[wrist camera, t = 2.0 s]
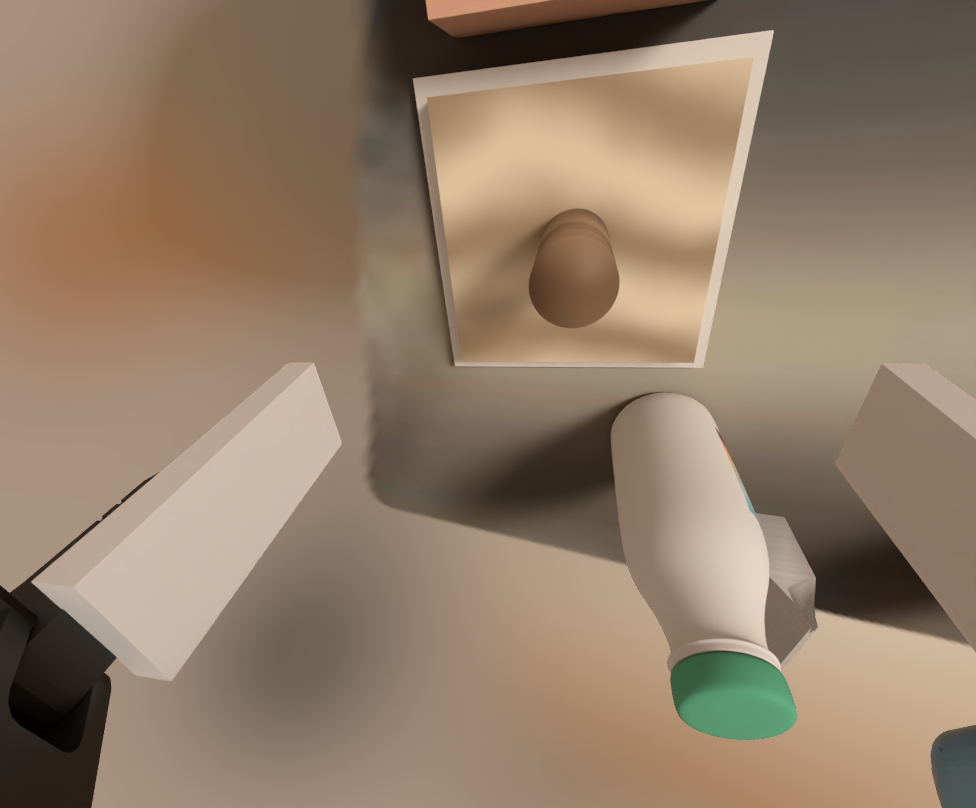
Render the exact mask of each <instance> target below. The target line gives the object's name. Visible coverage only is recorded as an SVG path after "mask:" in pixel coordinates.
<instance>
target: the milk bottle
mask: <svg viewBox="0 0 976 808" xmlns="http://www.w3.org/2000/svg"><path fill="white" fill-rule="evenodd" d="M611 450H612V460H613V470H614V480H615V490H616V499H617V508H618V517H619V526H620V532H621V539H622V545H623V551H624V555H625V559H626V562H627V566H628V568H629V571H630V573H631V576H632V578H633V580H634V582H635V584H636V586H637V588H638V590H639V591H640V593H641V595H642V596H643V598H644V599H645V601H646V602H647V604H648V605H649V607H650V608H651V610H652V611H653V612H654V614H655V616H656V618H657V619H658V621H659V623H660V625H661V627H662V629H663V631H664V633H665V635H666V638H667V640H668V643H669V646H670V650H671V654H670V656H669V658H668V668H669V670H670V672H671V678H670V681H671V689H672V695H673V700H674V705H675V708H676V710H677V713H678V715H679V716H680V718H681V719H682V720H683V721H684V722H685V723H687V724H688V725H689V726H691V727H692V728H694V729H696V730H698V731H700V732H703V733H706V734H709V735H712V736H717V737H722V738H728V739H737V740H738V739H739V740H755V739H764V738H769V737H774V736H777V735H780V734H782V733H784V732H786V731H788V730H789V729H790V728H791V727H792V726H793V725H794V724H795V722H796V720H797V715H796V707H795V704H794V700H793V697H792V694H791V691H790V689H789V687H788V684H787V682H786V679H785V678H784V676H783V675H782V673H781V666H780V662H779V660H778V659H777V657H776V656H775V655H774V654H773V653H772V652H770V651H769V650H768V647H767V643H766V637H765V623H764V614H765V604H766V598H767V592H768V585H769V559H768V551H767V547H766V543H765V539H764V535H763V532H762V530H761V527H760V525H759V522H758V519H757V517H756V514H755V512H754V509H753V507H752V504H751V502H750V500H749V497H748V495H747V493H746V491H745V488H744V486H743V484H742V481H741V479H740V477H739V474H738V472H737V470H736V468H735V466H734V463H733V461H732V459H731V457H730V454H729V452H728V450H727V448H726V446H725V443H724V441H723V439H722V437H721V435H720V432H719V430H718V428H717V426H716V424H715V422H714V420H713V418H712V416H711V414H710V413H709V411H708V410H707V409H706V408H705V407H704V406H703V405H702V404H701V403H699V402H698V401H696V400H694V399H692V398H690V397H687V396H685V395H682V394H676V393H666V392H662V393H653V394H650V395H646V396H643V397H641V398H638V399H636V400H634V401H633V402H631V403H630V404H628V405H627V406H626V407H625V408H624V409H623V410H622V411H621V412H620V413H619V414H618V416H617V417H616V419H615V420H614V423H613V425H612V428H611Z"/></svg>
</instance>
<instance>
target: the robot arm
mask: <svg viewBox="0 0 976 808" xmlns="http://www.w3.org/2000/svg"><path fill="white" fill-rule="evenodd" d="M341 444H342V441H341V439H340V436H339V433H338V430H337V427H336V425H335V422H334V419H333V416H332V413H331V410H330V407H329V405H328V402H327V399H326V396H325V393H324V390H323V387H322V385H321V382H320V379H319V376H318V373H317V370H316V368H315V365H314V363H287V364H286V365H285V366H284V367H283V368H282V369H280V370H279V371H278V372H277V373H276V374H275V375H273V376H272V377H271V378H270V379H269V380H268V381H266V382H265V383H264V384H263V385H261V386H260V387H259V388H258V389H257V390H256V391H255V392H253V393H252V394H251V395H250V396H249V397H247V398H246V399H245V400H244V401H243V402H241V403H240V404H239V405H238V406H237V407H236V408H235V409H233V410H232V411H231V412H230V413H229V414H227V415H226V416H225V417H224V418H223V419H222V420H220V421H219V422H218V423H217V424H216V425H214V426H213V427H212V428H211V429H210V430H209V431H208V432H206V433H205V434H204V435H203V436H202V437H201V438H199V439H198V440H197V441H196V442H194V443H193V444H192V445H191V446H190V447H189V448H187V449H186V450H185V451H184V452H183V453H182V454H180V455H179V456H178V457H177V458H176V459H175V460H173V461H172V462H171V463H170V464H169V465H167V466H166V467H165V468H164V469H163V470H162V471H160V472H159V473H157V474H155V475H154V476H152V477H150V478H148V479H147V480H145V481H144V482H142V483H141V484H140V485H139V486H138V487H136V488H135V489H134V490H133V491H132V492H131V493H129V494H128V495H127V496H126V497H125V498H123V499H122V500H121V501H122V503H121V504H116V505H115V506H114V507H113V508H111V509H110V510H109V511H108V512H107V513H106V514H104V515H103V516H102V517H103V518H102V520H101V521H96V522H95V523H94V524H92V525H91V526H90V527H89V528H88V529H87V530H85V531H84V532H83V533H82V534H81V535H79V536H78V537H77V538H76V539H75V540H73V541H72V542H71V543H70V544H69V545H67V546H66V547H65V548H64V549H63V550H62V551H60V552H59V553H58V554H57V555H56V556H54V557H53V558H52V559H51V560H50V561H48V562H47V563H46V564H45V565H44V566H43V567H41V568H40V569H39V570H38V571H37V572H35V573H34V574H33V575H32V576H31V577H29V578H28V579H27V580H26V581H25V582H23V583H22V584H21V585H20V586H19V587H17V588H16V589H14V590H13V591H12V592H10V593H9V592H7V591H6V590H5V589H4V588H3V587H2V586H0V808H91V806H92V800H93V794H94V788H95V781H96V776H97V770H98V764H99V759H100V753H101V747H102V741H103V734H104V729H105V723H106V717H107V711H108V705H109V699H110V693H111V681H110V677H109V676H108V675H106V674H105V673H104V672H105V671H106V669H107V668H108V667H109V666H110V665H111V664H112V663H113V661H114V660H115V659H116V658H117V659H118V660H119V661H120V662H121V663H122V664H123V665H125V666H126V667H127V668H128V669H129V670H130V671H131V672H132V673H133V674H135V675H137V676H143V677H149V678H154V679H160V680H166V681H172V680H173V678H174V677H175V676H176V674H177V673H178V672H179V670H180V669H181V667H182V666H183V665H184V663H185V662H186V660H187V659H188V658H189V656H190V655H191V653H192V652H193V651H194V649H195V648H196V647H197V645H198V644H199V642H200V641H201V639H202V638H203V637H204V635H205V634H206V633H207V631H208V630H209V628H210V627H211V626H212V624H213V623H214V621H215V620H216V619H217V617H218V616H219V614H220V613H221V611H222V610H223V609H224V607H225V606H226V605H227V603H228V602H229V601H230V599H231V598H232V596H233V595H234V593H235V592H236V591H237V589H238V588H239V587H240V585H241V584H242V582H243V581H244V580H245V578H246V577H247V575H248V574H249V573H250V571H251V570H252V568H253V567H254V566H255V564H256V563H257V561H258V560H259V559H260V557H261V556H262V555H263V553H264V552H265V550H266V549H267V548H268V546H269V545H270V543H271V542H272V541H273V539H274V538H275V536H276V535H277V533H278V532H279V531H280V529H281V528H282V527H283V525H284V524H285V522H286V521H287V520H288V518H289V517H290V516H291V514H292V513H293V511H294V510H295V508H296V507H297V506H298V504H299V503H300V501H301V500H302V499H303V497H304V496H305V495H306V493H307V492H308V490H309V489H310V488H311V486H312V485H313V483H314V482H315V481H316V479H317V478H318V476H319V475H320V474H321V472H322V471H323V470H324V468H325V467H326V465H327V464H328V463H329V461H330V460H331V458H332V457H333V456H334V454H335V453H336V451H337V450H338V449H339V447H340V446H341ZM835 465H836V466H837V468H838V469H839V470H840V472H841V473H842V474H843V476H844V477H845V478H846V480H847V481H848V482H849V484H850V485H851V486H852V488H853V489H854V490H855V492H856V493H857V494H858V496H859V497H860V498H861V500H862V501H863V502H864V504H865V505H866V506H867V508H868V509H869V510H870V512H871V513H872V514H873V516H874V517H875V518H876V520H877V521H878V522H879V524H880V525H881V526H882V528H883V529H884V530H885V532H886V533H887V534H888V536H889V537H890V538H891V540H892V541H893V542H894V544H895V545H896V546H897V548H898V549H899V550H900V552H901V553H902V554H903V556H904V557H905V558H906V560H907V561H908V562H909V564H910V565H911V566H912V568H913V569H914V570H915V572H916V573H917V574H918V576H919V577H920V578H921V580H922V581H923V582H924V584H925V585H926V586H927V588H928V589H929V590H930V592H931V593H932V594H933V596H934V597H935V598H936V600H937V601H938V602H939V604H940V605H941V606H942V608H943V609H944V610H945V612H946V613H947V614H948V616H949V617H950V618H951V620H952V621H953V622H954V624H955V625H956V626H957V628H958V629H959V630H960V632H961V633H962V634H963V636H964V637H965V638H966V640H967V641H968V642H969V644H970V645H971V646H972V648H973V649H974V650H975V652H976V399H974V398H973V397H972V396H970V395H969V394H967V393H966V392H964V391H963V390H962V389H960V388H959V387H957V386H956V385H955V384H953V383H952V382H950V381H949V380H947V379H946V378H945V377H943V376H942V375H940V374H939V373H937V372H936V371H935V370H933V369H932V368H930V367H929V366H928V365H926V364H882V365H881V367H880V369H879V371H878V373H877V375H876V377H875V379H874V381H873V384H872V386H871V388H870V390H869V392H868V394H867V396H866V398H865V400H864V403H863V405H862V407H861V409H860V411H859V413H858V415H857V417H856V420H855V422H854V424H853V426H852V428H851V430H850V432H849V434H848V436H847V439H846V441H845V443H844V445H843V447H842V449H841V451H840V453H839V456H838V458H837V460H836V462H835ZM931 764H932V774H933V779H934V783H935V787H936V790H937V794H938V797H939V800H940V803H941V806H942V808H976V725H972V726H968V727H963V728H959V729H954V730H949V731H946V732H943V733H942V734H940V735H939V736H938V737H937V738H936V739H935V741H934V742H933V745H932V750H931Z"/></svg>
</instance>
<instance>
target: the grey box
mask: <svg viewBox="0 0 976 808" xmlns="http://www.w3.org/2000/svg"><path fill="white" fill-rule="evenodd" d="M755 514H756V517H757V519H758V522H759V525H760V527H761V530H762V532H763V535H764V539H765V543H766V547H767V551H768V559H769V585H768V592H767V598H766V604H765V614H764V623H765V637H766V643H767V647H768V650H769V651H770V652H772V653H773V654H774V655H775V656H776V657H777V659H778V660H779V662H780V666H781V670H782V669H783V668H784V666H785V665H786V664H787V663H788V662H789V661H790V659H791V658H792V657H793V656H794V654H796V652H797V651H798V650H799V649H800V648H801V647H802V645H803V644H804V643H805V642H806V641H807V639H808V638H809V637H810V636H811V635H812V634H813V632H814V631H815V630H816V629H817V628H818V627H817V623H816V619H815V608H814V600H815V584H816V577H815V575H814V573H813V571H812V569H811V568H810V566H809V564H808V562H807V560H806V558H805V556H804V554H803V552H802V550H801V548H800V546H799V544H798V543H797V541H796V539H795V537H794V535H793V533H792V531H791V529H790V527H789V525H788V523H787V521H786V519H785V517H779V516H772V515H765V514H757V513H755Z"/></svg>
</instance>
